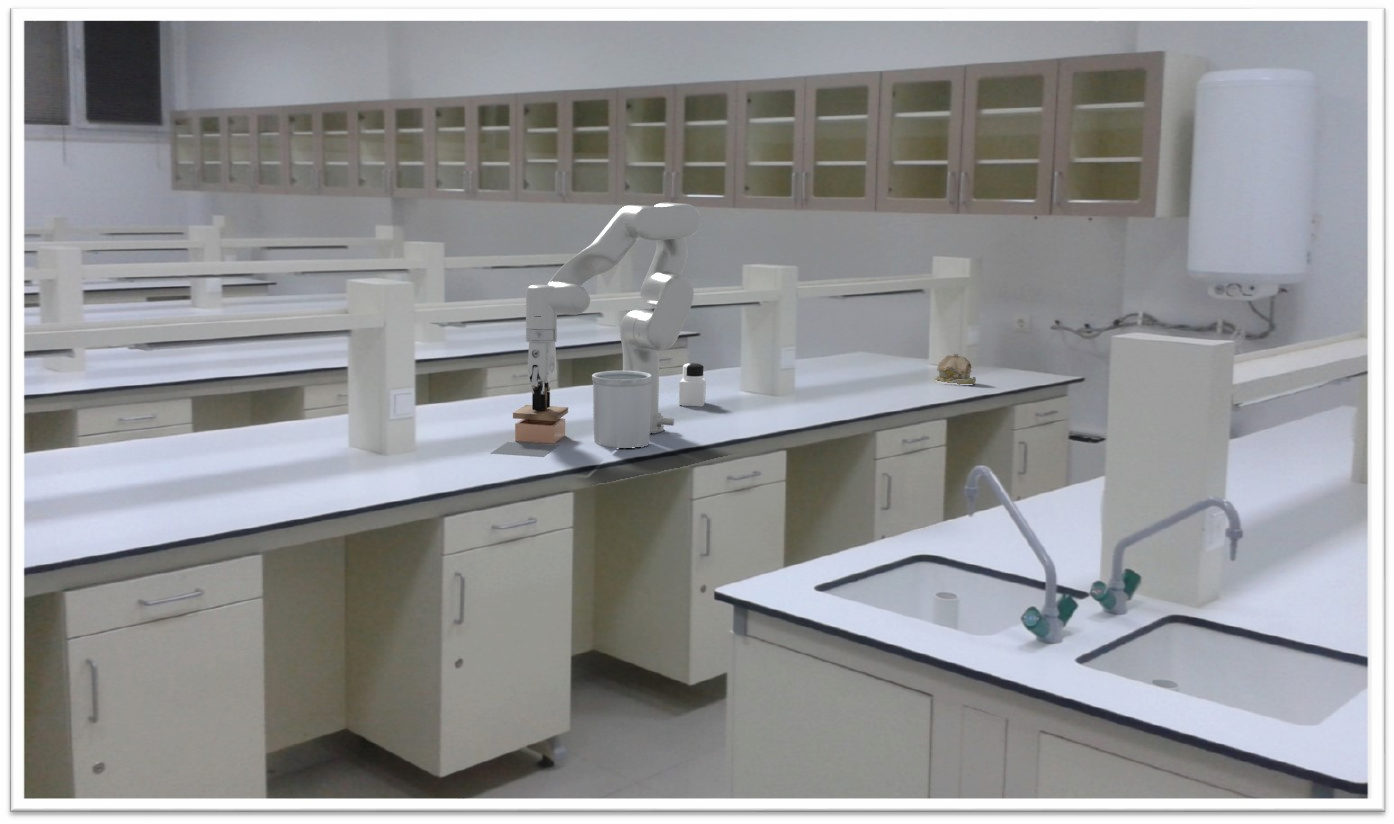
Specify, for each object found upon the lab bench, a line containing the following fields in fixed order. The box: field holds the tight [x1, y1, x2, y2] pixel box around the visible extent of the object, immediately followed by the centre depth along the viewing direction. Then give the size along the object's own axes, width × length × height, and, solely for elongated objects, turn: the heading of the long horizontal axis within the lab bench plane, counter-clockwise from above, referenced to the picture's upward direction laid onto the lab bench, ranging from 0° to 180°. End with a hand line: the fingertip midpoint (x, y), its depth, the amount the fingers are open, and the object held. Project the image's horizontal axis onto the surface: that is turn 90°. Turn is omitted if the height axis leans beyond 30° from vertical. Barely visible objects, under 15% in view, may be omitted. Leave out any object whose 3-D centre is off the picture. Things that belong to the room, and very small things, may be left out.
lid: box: [512, 387, 569, 421], centre depth 314 cm, size 11×11×7 cm
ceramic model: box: [934, 353, 977, 384], centre depth 423 cm, size 14×11×10 cm
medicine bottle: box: [678, 362, 707, 408], centre depth 370 cm, size 7×7×12 cm
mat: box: [490, 441, 559, 458], centre depth 303 cm, size 13×13×1 cm
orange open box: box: [514, 417, 566, 445], centre depth 315 cm, size 10×10×5 cm
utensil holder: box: [591, 370, 652, 448], centre depth 313 cm, size 15×15×18 cm
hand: (541, 407), depth 314 cm, fingers open, 3 cm apart
